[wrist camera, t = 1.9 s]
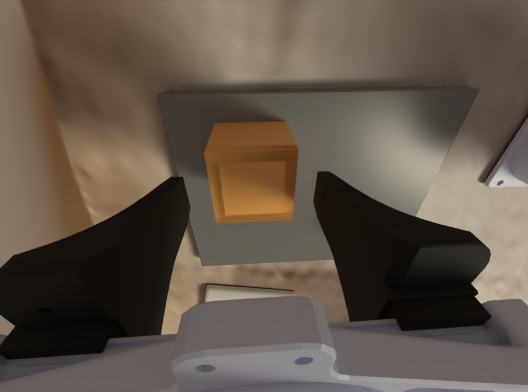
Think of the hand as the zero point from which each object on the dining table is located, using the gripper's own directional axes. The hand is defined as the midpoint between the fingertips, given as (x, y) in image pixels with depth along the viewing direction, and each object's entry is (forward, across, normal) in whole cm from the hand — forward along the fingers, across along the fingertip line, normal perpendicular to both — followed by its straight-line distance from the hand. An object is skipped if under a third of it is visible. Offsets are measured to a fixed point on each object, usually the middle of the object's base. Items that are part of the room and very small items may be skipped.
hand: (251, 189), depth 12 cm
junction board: (+5, -5, +4) cm, 8 cm away
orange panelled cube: (+4, 0, 0) cm, 4 cm away
